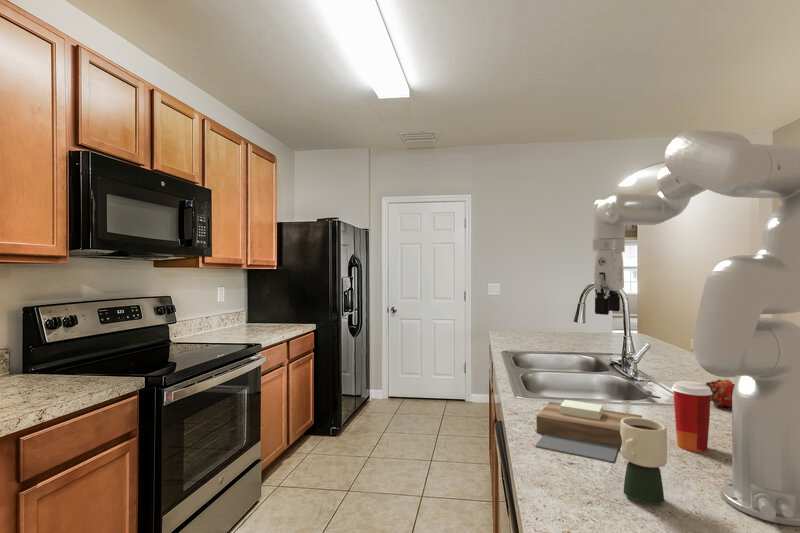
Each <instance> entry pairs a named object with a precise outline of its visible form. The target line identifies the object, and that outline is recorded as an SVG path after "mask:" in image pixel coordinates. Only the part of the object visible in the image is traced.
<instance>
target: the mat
mask: <svg viewBox="0 0 800 533" xmlns="http://www.w3.org/2000/svg"><path fill="white" fill-rule="evenodd" d="M534 447H535V448H539V449H543V450H548V451H554V452H559V453H562V454H568V455H572V456H573V455H574V456H578V457H583V458H588V459H591V460H592V459H593V460H598V461H603V462H608V463H613V464H615V461H616V457H617V452H618V450H619V448H618V447H617V446H612V445H607V444H601V443H596V442H591V441H585V440H580V439H575V438H569V437H564V436H558V435H553V434H548V433H545V434H542V436H541V437H540V439H539V440H538V441H537V443H536V444H535V445H534Z"/></svg>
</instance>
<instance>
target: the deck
mask: <svg viewBox="0 0 800 533" xmlns="http://www.w3.org/2000/svg"><path fill="white" fill-rule="evenodd" d="M561 404H562V403H561V402H555V401H549V402H548V404H546V405H545V407H544V408H543V409H541V411H540V412H539V413H538V414H537V415H536V433H537V434H542V435H544V434H545V433H548V434H553V435H558V436H564V437H569V438H575V439H580V440H585V441H591V442H596V443H601V444H607V445H612V446H617V447H618V449H621V445H622V438H621V434H620V429H621V419H623V418H629V417H636V418H643V415H640V414H635V413H634V414H633V413H628V412H627V413H626V412H620V411H615V410H606V409H603V414H602V416H601V418H600V420H596V419H590V418H583V417H577V416H571V415H565V414H560V405H561Z"/></svg>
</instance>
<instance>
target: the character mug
mask: <svg viewBox="0 0 800 533" xmlns="http://www.w3.org/2000/svg"><path fill="white" fill-rule="evenodd" d="M667 430H668V428H667V425H665V424H664V423H663V422H659V421H657V420H654V419H649V418H644V417H642V418H636V417H629V418H623V419H621V429H620V434H621V438H622V445H621V448H619V451H620V454H621V456H622V458H623V459H624V460H626V461H627V464H626V468H625V469H626V470H625V476H624V484H623V494H624V495H625V496H626V497H628V498H631V499H634V500H637V501H638V502H644V503H648V504H652V505H653V504H657V505H659V504H662V503H664V502H665V495H664V486H663V479H662V478H663V477H662V472H661V469H660V468H663V467H665V466H666V465H667V462H668V431H667Z"/></svg>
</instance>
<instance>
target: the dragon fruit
mask: <svg viewBox="0 0 800 533" xmlns="http://www.w3.org/2000/svg"><path fill="white" fill-rule="evenodd" d="M705 385H707V386H708V387H710V390H711V391H712V393H713V394H712V395H711V399H710V402H712V403H713V405H714V406H715V407H717V408H720V409H722V408H723V407H725V406H726V407H727V408H731V409H732V395H733V390H734V386H735V383H733V382H732V381H731V380H729V379H725V380H724V379H717V380H712V381H710V382H709V381H708V382H705Z"/></svg>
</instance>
